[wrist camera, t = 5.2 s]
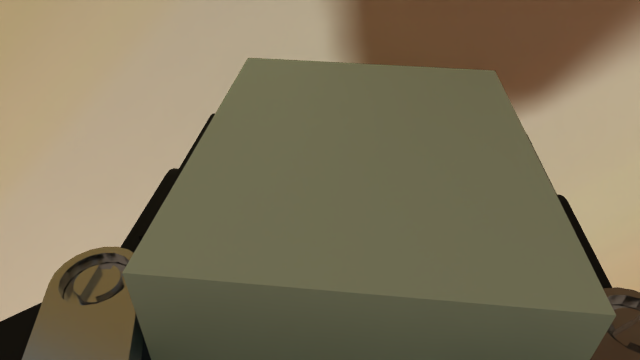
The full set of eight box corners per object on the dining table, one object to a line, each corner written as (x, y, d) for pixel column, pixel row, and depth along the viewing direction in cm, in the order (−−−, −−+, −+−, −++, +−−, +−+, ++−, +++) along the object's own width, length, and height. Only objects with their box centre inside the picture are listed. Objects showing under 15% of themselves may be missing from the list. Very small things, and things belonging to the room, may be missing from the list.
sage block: (494, 70, 9) (616, 315, 5) (450, 251, 12) (496, 516, 8) (248, 57, 10) (122, 273, 5) (262, 236, 13) (191, 480, 8)
